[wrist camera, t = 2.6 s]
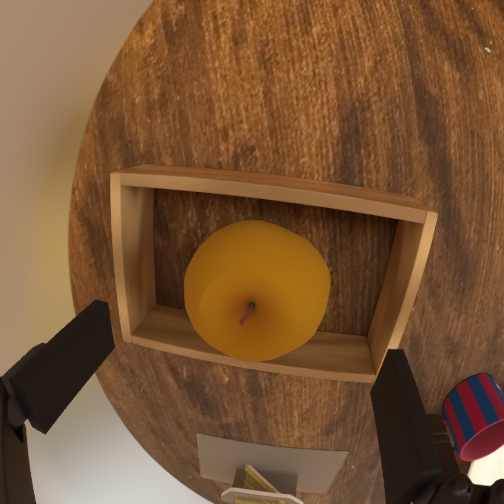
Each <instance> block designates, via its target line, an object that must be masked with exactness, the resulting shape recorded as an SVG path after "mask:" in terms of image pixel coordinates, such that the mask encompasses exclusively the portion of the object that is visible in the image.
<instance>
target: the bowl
mask: <svg viewBox="0 0 504 504" xmlns="http://www.w3.org/2000/svg"><path fill="white" fill-rule="evenodd" d="M468 477H469V478H470V479H471V481H472V483H473V484H479V485H487V486H491V485H492V484H493V483H494V482H495V481H496V480H498V479H501V478H502V479H504V445H503V446H502V447H500V448H499V449H498V450H496V451H495V452H493V453H491V454H490V455H488V456H486V457H483V458H481V459H478V460H474V461H472V463H471V465H470V469H469V472H468Z"/></svg>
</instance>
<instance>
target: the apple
mask: <svg viewBox="0 0 504 504" xmlns="http://www.w3.org/2000/svg"><path fill="white" fill-rule="evenodd" d="M330 287H331V279H330V270H329V269H328V267H327V265H326V263H325V261H324V259H323V257H322V255H321V253H320V252H319V251H318V250H317V249H316V248H315V247H314V246H313V245H312V244H311V243H310V241H309V240H308V239H306V238H304V237H302V236H300V235H298V234H295V233H293V232H291V231H289V230H287V229H285V228H283V227H281V226H279V225H276V224H273V223H270V222H267V221H263V220H260V219H254V220H243V221H240V222H237V223H233V224H230V225H227V226H225V227H223V228H221V229H220V230H218V231H216V232H215V233H213V234H212V235H210V236H209V237H208V238H207V239H206V240H205V241H204V243H203V244H202V245H201V246H200V247H199V248H198V250H197V251H196V253H195V255H194V256H193V258H192V260H191V262H190V263H189V265H188V267H187V270H186V274H185V277H184V299H185V308H186V311H187V313H188V316H189V318H190V321H191V323H192V325H193V328H194V330H195V331H196V332H197V333H198V334H199V335H200V336H201V337H202V338H203V339H204V340H205V341H206V342H207V343H208V344H209V345H210V346H212V347H214V348H215V349H217V350H219V351H221V352H223V353H224V354H226V355H228V356H230V357H232V358H233V359H236V360H242V361H247V362H260V361H266V360H272V359H275V358H278V357H280V356H282V355H285V354H287V353H289V352H291V351H293V350H294V349H296V348H298V347H300V346H302V345H303V344H305V343H306V342H307V341H308V340H309V339H310V338H311V337H312V336H313V335H314V334H315V332H316V330H317V328H318V326H319V324H320V323H321V321H322V319H323V317H324V315H325V313H326V309H327V303H328V298H329V293H330Z"/></svg>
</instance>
